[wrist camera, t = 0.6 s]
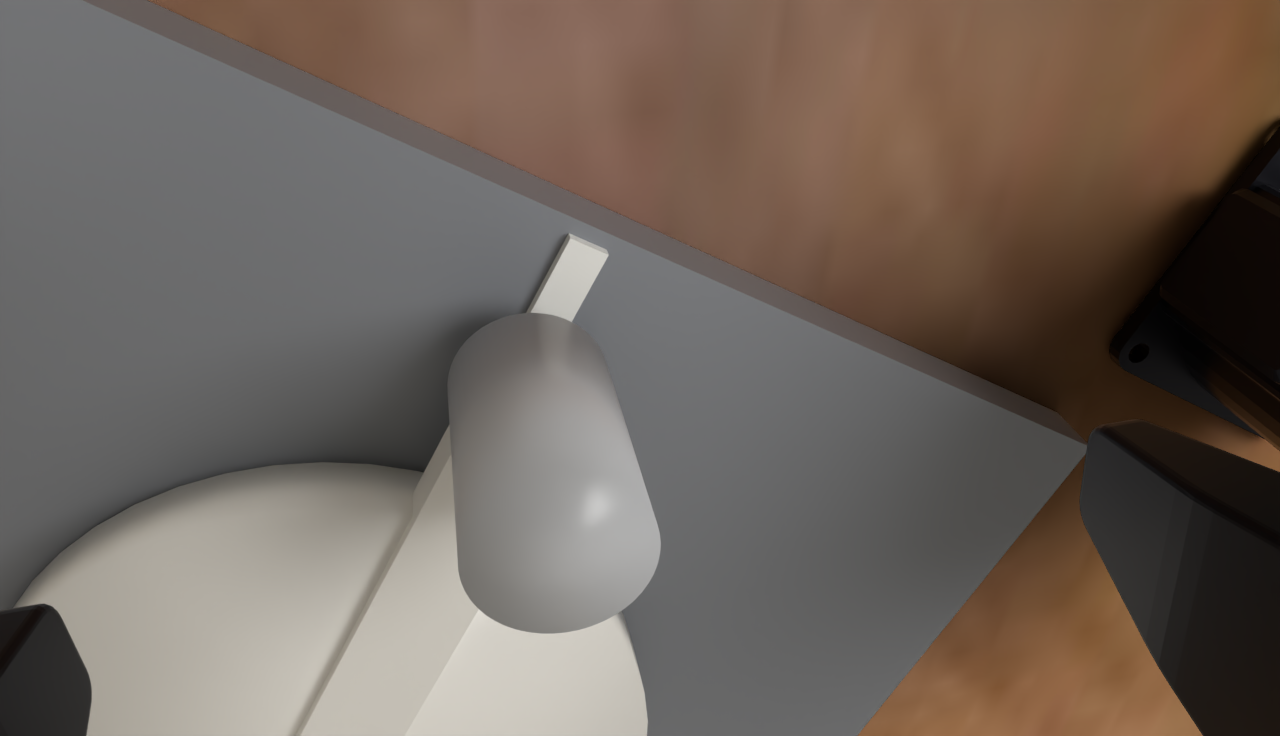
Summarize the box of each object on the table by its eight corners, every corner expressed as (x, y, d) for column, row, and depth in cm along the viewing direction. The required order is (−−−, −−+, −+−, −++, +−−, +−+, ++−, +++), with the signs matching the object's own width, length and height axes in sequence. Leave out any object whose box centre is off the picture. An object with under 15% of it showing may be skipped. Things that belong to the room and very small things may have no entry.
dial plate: (1057, 412, 26) (1096, 453, 25) (570, 1034, 36) (577, 1090, 34) (-177, -147, 16) (-236, -135, 15) (-399, 918, 26) (-448, 991, 24)
